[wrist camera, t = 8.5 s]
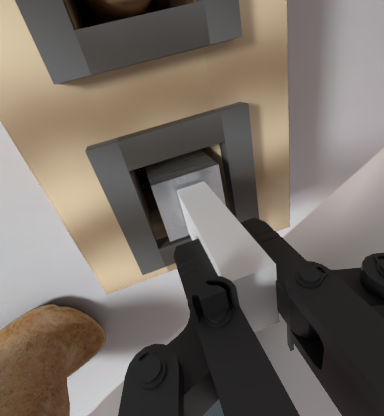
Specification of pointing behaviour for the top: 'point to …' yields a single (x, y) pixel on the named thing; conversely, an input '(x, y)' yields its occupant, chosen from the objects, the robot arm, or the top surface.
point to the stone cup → (44, 359)
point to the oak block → (146, 116)
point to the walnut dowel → (116, 9)
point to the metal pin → (181, 186)
